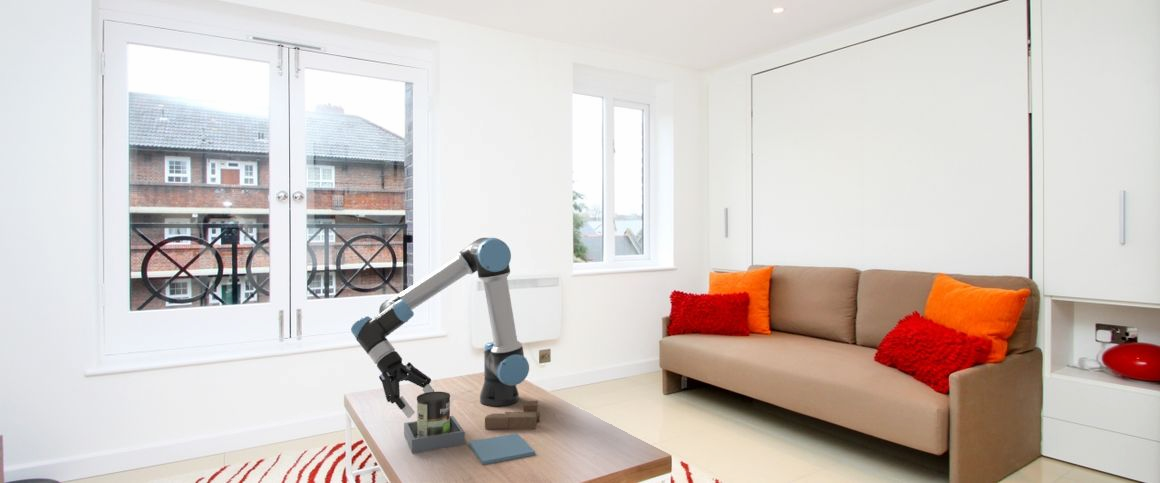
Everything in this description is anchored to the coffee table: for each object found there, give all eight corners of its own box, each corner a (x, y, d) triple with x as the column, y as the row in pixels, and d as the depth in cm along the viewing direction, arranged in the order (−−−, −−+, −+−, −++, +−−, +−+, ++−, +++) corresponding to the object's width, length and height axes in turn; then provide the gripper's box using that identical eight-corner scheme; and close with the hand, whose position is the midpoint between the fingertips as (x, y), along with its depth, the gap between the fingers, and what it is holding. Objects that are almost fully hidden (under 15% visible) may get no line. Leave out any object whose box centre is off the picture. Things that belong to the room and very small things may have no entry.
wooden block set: (538, 414, 183) (484, 414, 182) (538, 430, 183) (484, 431, 182) (540, 398, 200) (491, 398, 199) (540, 413, 200) (491, 413, 199)
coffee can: (455, 434, 178) (455, 392, 178) (441, 447, 168) (441, 402, 167) (426, 432, 180) (426, 390, 180) (410, 444, 170) (410, 399, 169)
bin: (453, 427, 185) (453, 415, 184) (464, 444, 170) (464, 431, 170) (404, 435, 178) (404, 422, 177) (411, 453, 163) (411, 440, 163)
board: (517, 436, 177) (517, 433, 177) (535, 454, 162) (535, 451, 162) (468, 444, 170) (468, 441, 170) (482, 464, 155) (482, 461, 155)
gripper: (403, 356, 191) (440, 403, 187) (351, 374, 168) (392, 429, 163) (416, 342, 189) (453, 390, 185) (365, 359, 166) (407, 413, 161)
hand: (424, 408), depth 174 cm, fingers open, 13 cm apart
